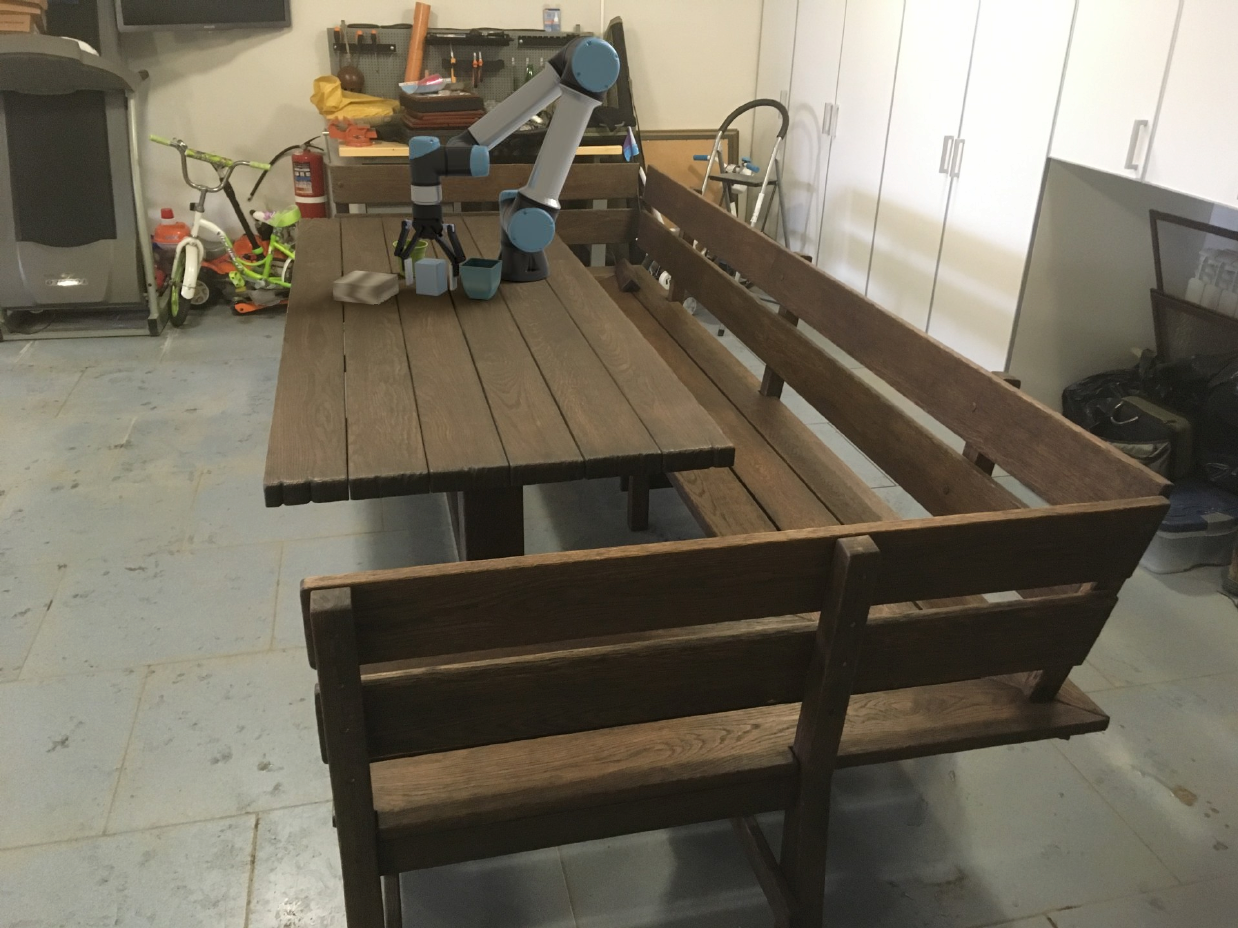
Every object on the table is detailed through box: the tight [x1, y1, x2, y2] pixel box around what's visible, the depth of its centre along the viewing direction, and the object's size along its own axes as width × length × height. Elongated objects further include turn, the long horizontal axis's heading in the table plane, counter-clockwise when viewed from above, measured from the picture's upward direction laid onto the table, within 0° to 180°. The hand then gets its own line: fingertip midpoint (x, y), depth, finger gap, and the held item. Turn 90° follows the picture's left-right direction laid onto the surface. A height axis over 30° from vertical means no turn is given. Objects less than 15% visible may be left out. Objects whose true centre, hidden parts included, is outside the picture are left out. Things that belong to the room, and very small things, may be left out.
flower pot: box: [459, 257, 502, 300], centre depth 252 cm, size 9×9×9 cm
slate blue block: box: [414, 257, 449, 297], centre depth 256 cm, size 6×6×8 cm
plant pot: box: [392, 239, 429, 278], centre depth 270 cm, size 9×9×9 cm
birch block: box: [331, 269, 400, 305], centre depth 251 cm, size 12×12×5 cm
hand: (431, 286), depth 257 cm, fingers open, 12 cm apart
